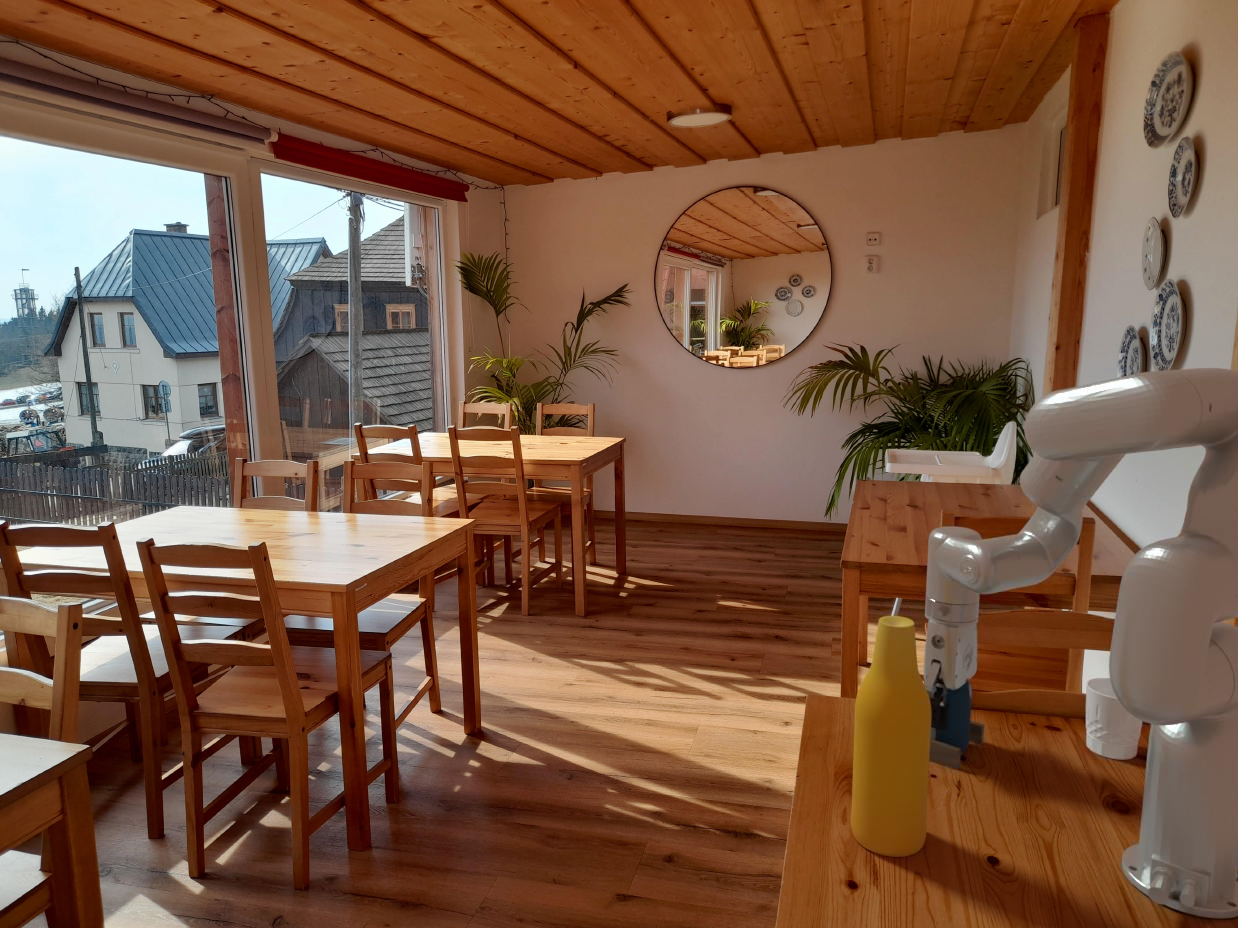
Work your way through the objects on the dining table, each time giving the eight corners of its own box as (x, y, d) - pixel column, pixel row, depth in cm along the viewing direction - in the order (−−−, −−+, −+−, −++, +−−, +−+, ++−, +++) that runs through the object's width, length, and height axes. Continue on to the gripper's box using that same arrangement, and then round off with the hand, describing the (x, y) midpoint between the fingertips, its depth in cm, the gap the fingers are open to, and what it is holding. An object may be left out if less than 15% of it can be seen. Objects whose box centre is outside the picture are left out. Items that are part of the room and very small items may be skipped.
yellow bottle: (913, 868, 101) (924, 640, 97) (839, 842, 107) (846, 624, 102) (934, 830, 109) (945, 617, 104) (864, 808, 114) (871, 604, 110)
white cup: (1090, 759, 127) (1095, 696, 125) (1075, 734, 134) (1080, 675, 132) (1148, 764, 125) (1154, 701, 123) (1130, 739, 132) (1135, 679, 131)
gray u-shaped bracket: (957, 769, 124) (958, 750, 123) (898, 749, 130) (899, 731, 129) (983, 742, 132) (984, 724, 132) (927, 724, 138) (927, 707, 137)
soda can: (973, 744, 131) (978, 671, 129) (961, 762, 126) (965, 687, 124) (928, 732, 135) (932, 661, 134) (915, 749, 130) (918, 676, 128)
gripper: (954, 629, 118) (948, 747, 121) (996, 599, 131) (990, 706, 134) (903, 618, 123) (898, 731, 126) (948, 590, 136) (943, 693, 139)
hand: (946, 717), depth 130 cm, fingers closed on soda can, 7 cm apart
